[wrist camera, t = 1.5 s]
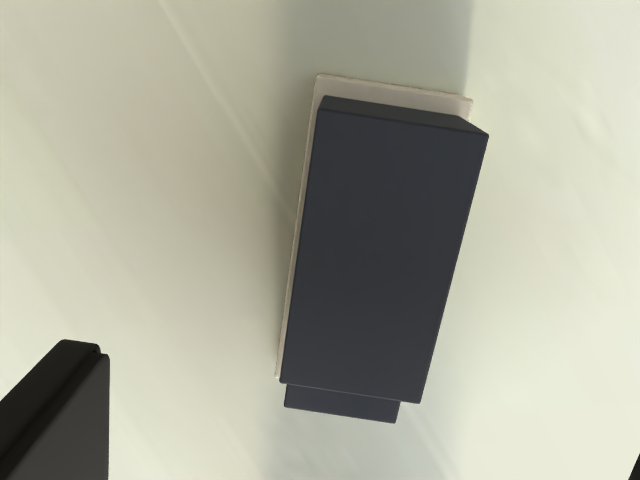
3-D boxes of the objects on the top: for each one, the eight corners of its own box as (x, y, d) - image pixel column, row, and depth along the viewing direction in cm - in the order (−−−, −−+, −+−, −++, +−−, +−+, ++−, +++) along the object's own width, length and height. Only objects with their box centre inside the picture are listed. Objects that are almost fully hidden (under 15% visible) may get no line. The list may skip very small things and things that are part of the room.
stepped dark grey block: (317, 72, 16) (307, 82, 12) (465, 95, 16) (509, 114, 12) (278, 359, 20) (259, 447, 15) (399, 377, 20) (413, 470, 15)
